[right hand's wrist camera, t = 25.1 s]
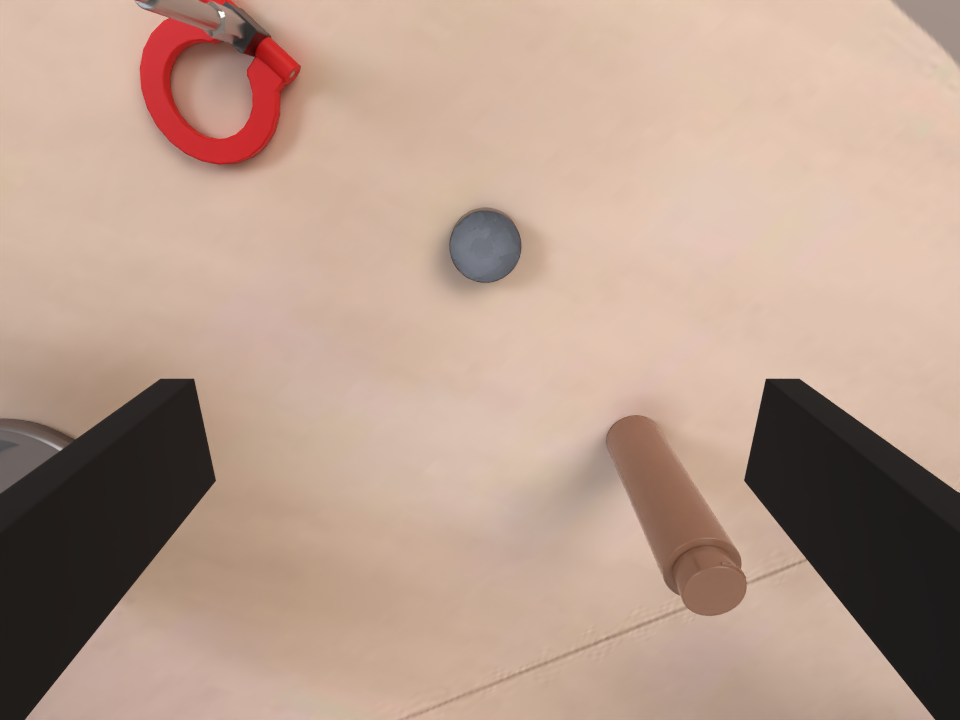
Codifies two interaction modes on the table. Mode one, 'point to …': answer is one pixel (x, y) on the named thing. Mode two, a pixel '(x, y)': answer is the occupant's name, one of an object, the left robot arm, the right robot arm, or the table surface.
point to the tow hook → (213, 18)
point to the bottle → (676, 519)
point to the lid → (485, 245)
